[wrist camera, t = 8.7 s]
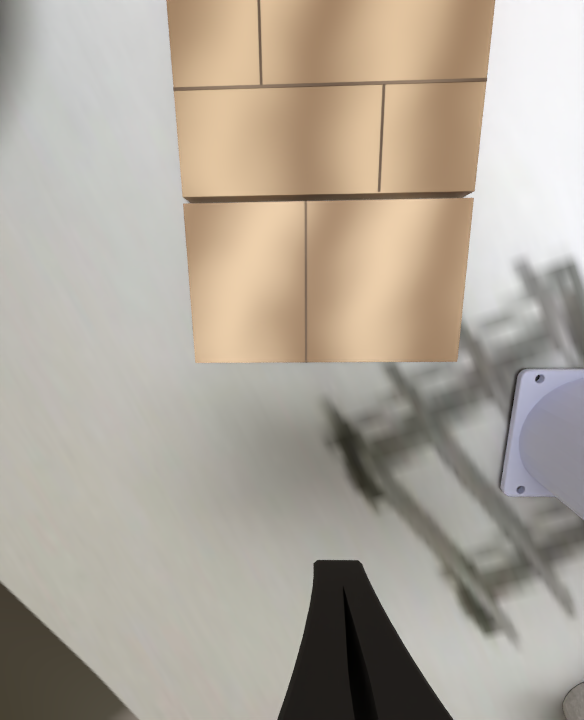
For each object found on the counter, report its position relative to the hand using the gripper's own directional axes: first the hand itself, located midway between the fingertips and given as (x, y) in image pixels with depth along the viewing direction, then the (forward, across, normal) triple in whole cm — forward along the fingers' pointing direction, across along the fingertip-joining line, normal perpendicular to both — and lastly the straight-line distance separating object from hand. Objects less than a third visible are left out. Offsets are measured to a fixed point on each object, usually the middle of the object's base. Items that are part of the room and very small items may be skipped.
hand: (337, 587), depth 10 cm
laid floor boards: (+10, 0, -18) cm, 20 cm away
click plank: (+10, 0, -9) cm, 13 cm away
